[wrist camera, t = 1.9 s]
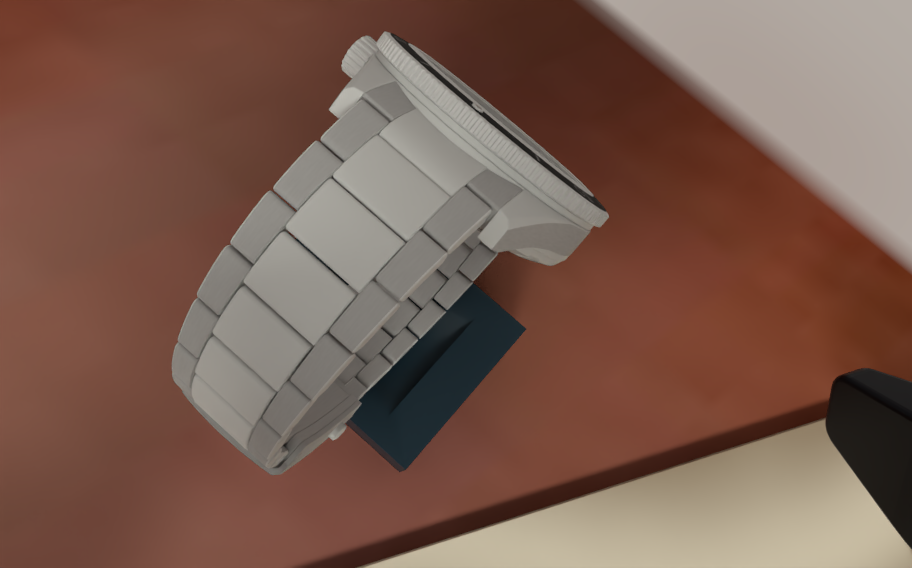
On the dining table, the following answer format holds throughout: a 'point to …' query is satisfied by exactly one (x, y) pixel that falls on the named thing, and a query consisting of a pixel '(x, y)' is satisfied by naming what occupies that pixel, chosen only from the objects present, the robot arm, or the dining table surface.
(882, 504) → the robot arm
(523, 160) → the watch
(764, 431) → the dining table surface
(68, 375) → the dining table surface
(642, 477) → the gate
